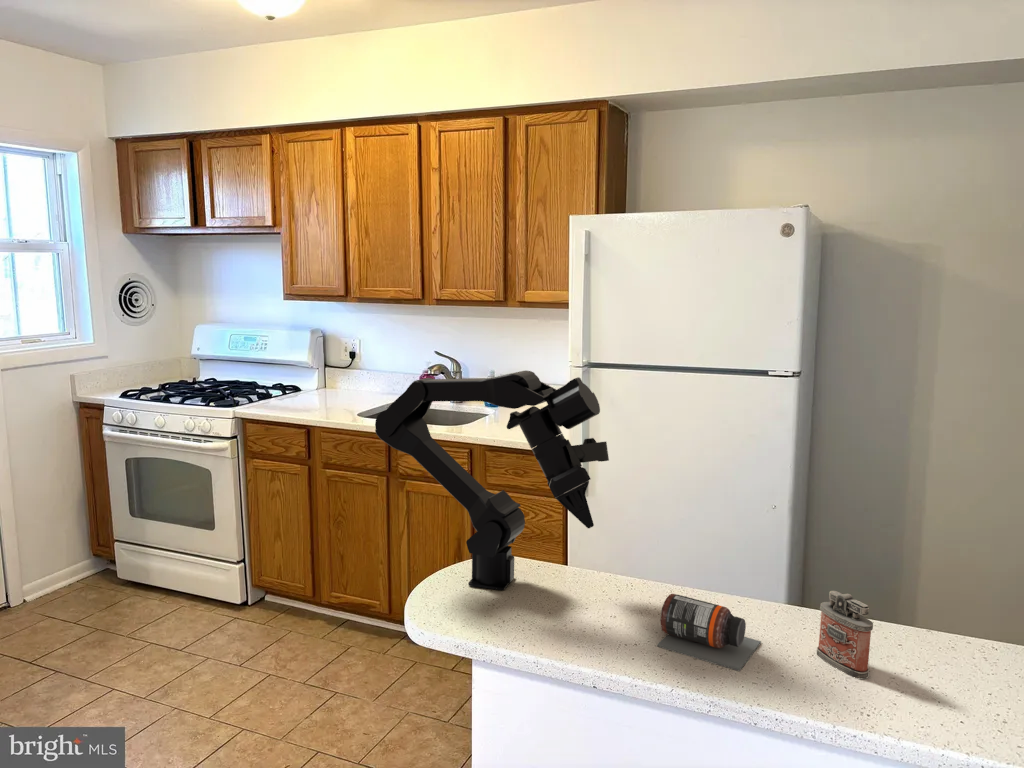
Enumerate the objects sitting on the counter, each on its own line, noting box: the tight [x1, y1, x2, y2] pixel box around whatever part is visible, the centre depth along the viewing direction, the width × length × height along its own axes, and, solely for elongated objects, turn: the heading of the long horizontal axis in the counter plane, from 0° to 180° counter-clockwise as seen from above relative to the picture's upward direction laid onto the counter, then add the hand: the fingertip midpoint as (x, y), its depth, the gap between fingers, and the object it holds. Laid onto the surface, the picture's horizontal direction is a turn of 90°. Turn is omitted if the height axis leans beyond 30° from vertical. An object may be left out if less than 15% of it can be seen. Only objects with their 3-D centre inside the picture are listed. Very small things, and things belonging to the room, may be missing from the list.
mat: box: [656, 634, 762, 672], centre depth 110 cm, size 12×10×1 cm
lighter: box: [816, 590, 874, 679], centre depth 105 cm, size 8×3×10 cm, turn 23°
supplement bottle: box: [659, 593, 747, 648], centre depth 110 cm, size 6×6×11 cm
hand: (591, 527), depth 123 cm, fingers closed
